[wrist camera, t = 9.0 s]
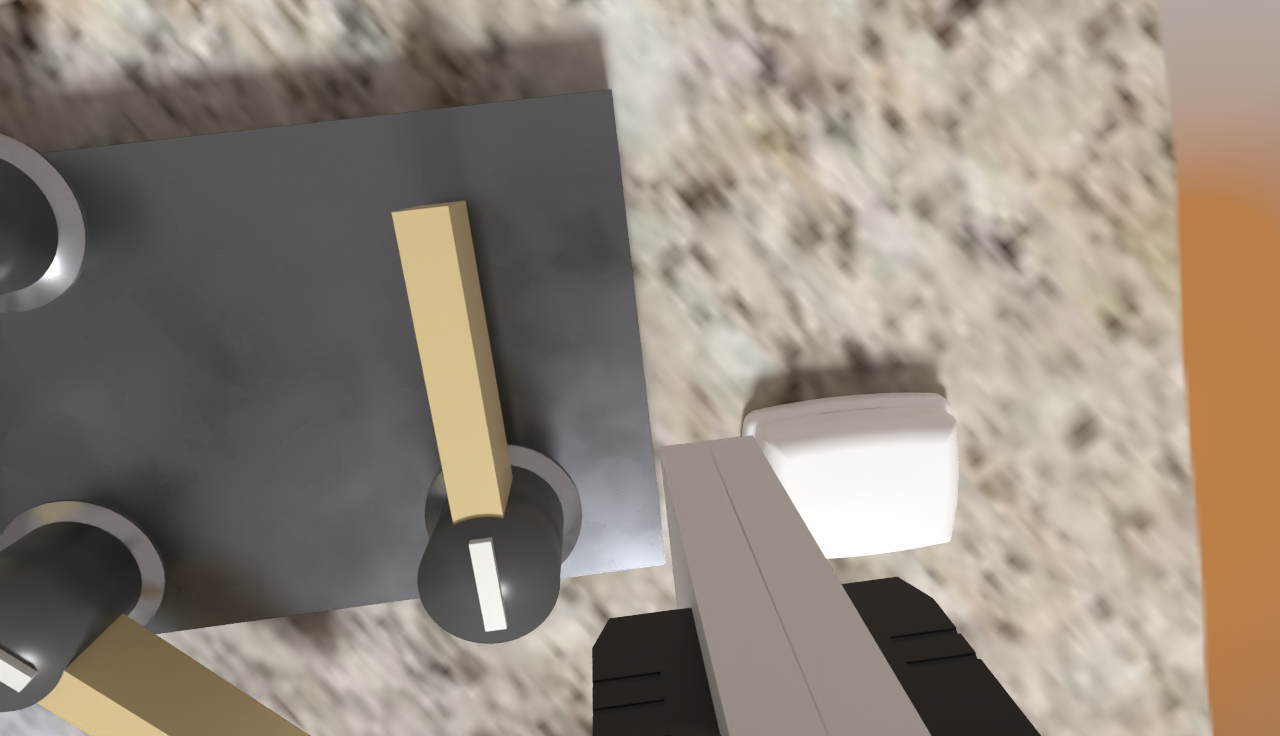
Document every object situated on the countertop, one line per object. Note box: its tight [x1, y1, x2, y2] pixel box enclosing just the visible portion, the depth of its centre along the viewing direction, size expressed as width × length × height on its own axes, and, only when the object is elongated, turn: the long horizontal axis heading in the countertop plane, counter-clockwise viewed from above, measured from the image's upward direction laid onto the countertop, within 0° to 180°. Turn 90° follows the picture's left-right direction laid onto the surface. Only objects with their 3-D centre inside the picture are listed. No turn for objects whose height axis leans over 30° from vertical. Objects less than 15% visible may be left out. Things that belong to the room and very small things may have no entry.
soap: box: [742, 393, 959, 559], centre depth 31 cm, size 9×7×3 cm
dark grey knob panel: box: [0, 89, 666, 634], centre depth 28 cm, size 28×19×2 cm
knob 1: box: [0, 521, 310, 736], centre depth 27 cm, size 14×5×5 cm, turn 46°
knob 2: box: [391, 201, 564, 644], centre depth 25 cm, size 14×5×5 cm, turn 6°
